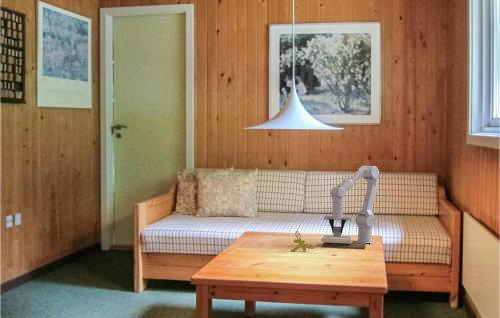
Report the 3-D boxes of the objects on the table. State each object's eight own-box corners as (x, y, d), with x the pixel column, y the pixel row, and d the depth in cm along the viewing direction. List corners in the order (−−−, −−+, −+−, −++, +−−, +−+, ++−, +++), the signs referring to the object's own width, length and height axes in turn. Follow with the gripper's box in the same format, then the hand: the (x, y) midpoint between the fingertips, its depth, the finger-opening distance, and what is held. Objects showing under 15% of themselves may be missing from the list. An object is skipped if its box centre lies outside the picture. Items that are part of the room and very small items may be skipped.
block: (333, 235, 304) (334, 226, 304) (341, 235, 303) (341, 226, 303) (333, 236, 300) (333, 227, 300) (340, 236, 299) (340, 227, 299)
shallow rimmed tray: (323, 240, 309) (323, 234, 309) (352, 242, 305) (352, 236, 305) (321, 244, 299) (321, 237, 299) (351, 245, 295) (351, 239, 295)
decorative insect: (302, 260, 288) (315, 246, 287) (301, 261, 285) (314, 248, 284) (284, 243, 290) (296, 229, 288) (283, 244, 286) (296, 231, 285)
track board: (324, 243, 310) (324, 240, 310) (365, 245, 304) (365, 243, 304) (321, 247, 298) (321, 244, 298) (364, 249, 293) (364, 247, 293)
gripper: (323, 208, 300) (323, 233, 300) (350, 210, 296) (350, 234, 296) (325, 207, 306) (324, 231, 307) (351, 208, 303) (350, 232, 303)
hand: (337, 233), depth 302 cm, fingers closed on block, 4 cm apart
